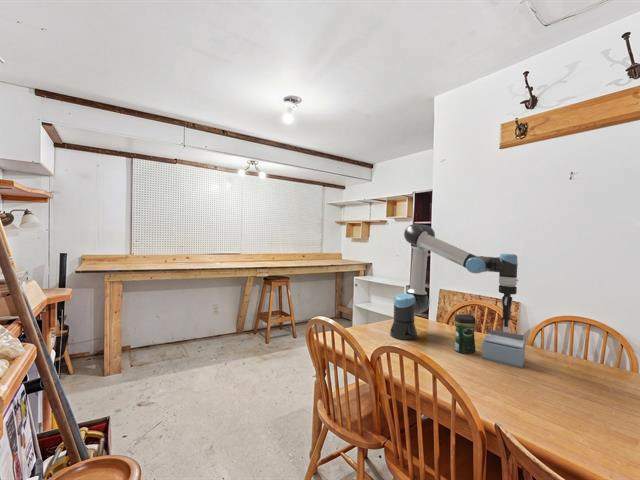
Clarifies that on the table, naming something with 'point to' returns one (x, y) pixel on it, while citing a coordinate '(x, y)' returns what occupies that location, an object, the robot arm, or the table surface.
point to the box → (503, 354)
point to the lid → (505, 338)
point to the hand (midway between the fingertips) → (506, 332)
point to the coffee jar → (464, 333)
